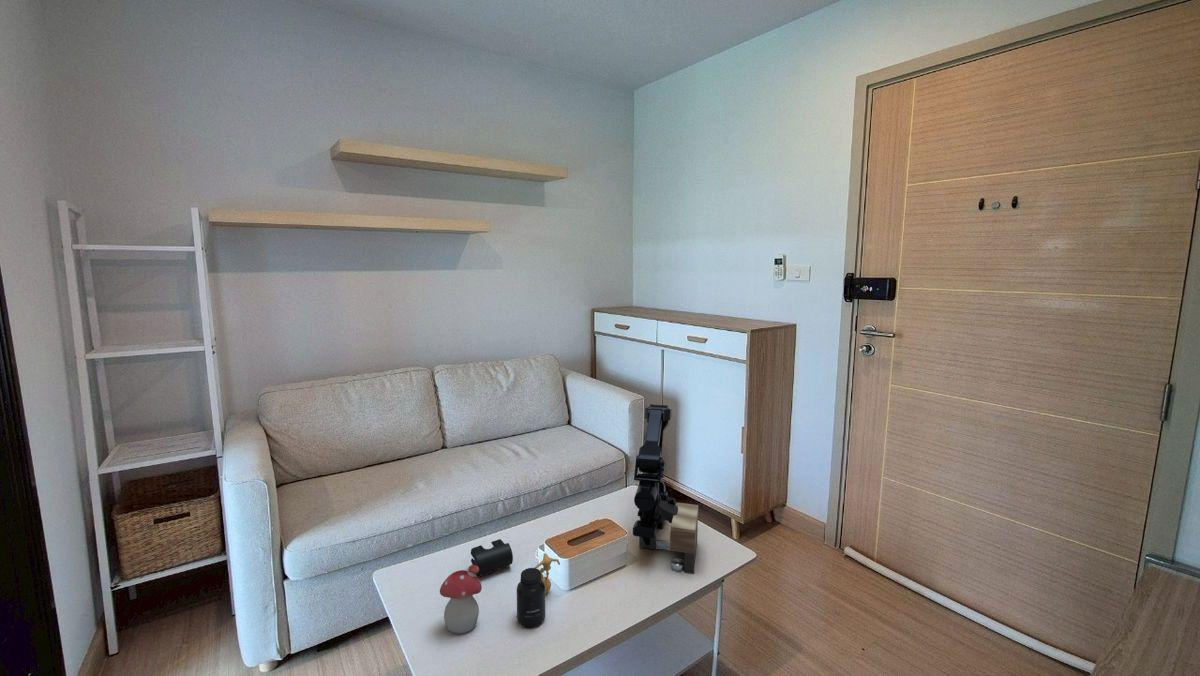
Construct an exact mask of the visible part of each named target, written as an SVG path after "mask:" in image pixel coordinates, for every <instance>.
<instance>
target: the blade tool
mask: <svg viewBox="0 0 1200 676" xmlns="http://www.w3.org/2000/svg"><path fill="white" fill-rule="evenodd" d="M638 538H639V539H638V540H639V541H638V543H639V544H638V545H639V546H638V547H639V548H643V549H650V550H657V549H659V550H664V551H666V550H667V551H671V550H670V548H669V543H670V540H666V539H665V540H663V539H658V529H657V530H656V534H655V538H651V540H650V545H646V544H645V542H644V540H643V538H642V537H639V536H638Z"/></svg>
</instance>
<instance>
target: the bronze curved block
mask: <svg viewBox="0 0 1200 676" xmlns="http://www.w3.org/2000/svg"><path fill="white" fill-rule="evenodd" d="M676 506H678V513H677V515H673V520H672V524H671V523H670V528H669V541H670V543H669V548H670V550H669V551H673V552H679V553H684V571H683V572H684V573H686V574H691V575H692V574H693V575H694V573H695V567H696V566H695V565H696V559H697V551H698V550H697V549H698V534H699V533H698V531H699V525H698V523H699V505H698V504H692V503H684V502H683V503H682V502H676Z"/></svg>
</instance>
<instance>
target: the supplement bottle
mask: <svg viewBox="0 0 1200 676" xmlns="http://www.w3.org/2000/svg"><path fill="white" fill-rule="evenodd" d="M540 570H541V569H538V568H535V567H528V568H525V569H523V570H522V571H521V573H520V579H519V580H520V581H519V582H518V584H517V586H516V620H517V622H518V624H519V625H520V626H522V627H523V628H527V629H528V628H529V629H532V628H537V627H539V626H540V625H541V624H543V623H544V621H545V619H546V593H545V584H544V582H543V581H542V580H541V572H540Z"/></svg>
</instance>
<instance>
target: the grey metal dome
mask: <svg viewBox="0 0 1200 676" xmlns="http://www.w3.org/2000/svg"><path fill="white" fill-rule="evenodd" d="M670 563H671V564H670V569H671V571H672V572H674V571H675V572H674V573H683V572H684V570H685V560H683V559H681V558H677V557H676V558H673V559H671V562H670ZM682 571H683V572H682Z"/></svg>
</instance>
